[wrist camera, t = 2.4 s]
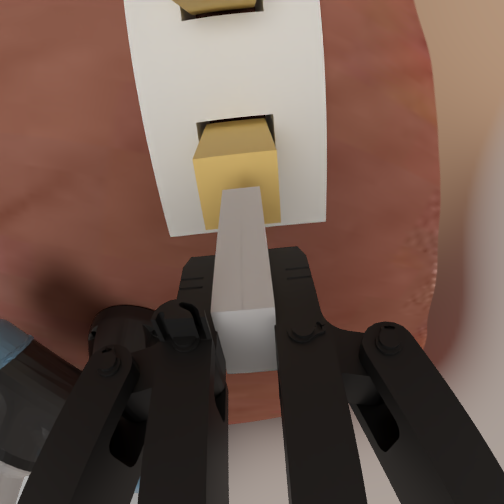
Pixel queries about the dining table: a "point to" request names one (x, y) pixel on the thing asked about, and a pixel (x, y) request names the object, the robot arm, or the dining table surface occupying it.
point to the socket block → (232, 96)
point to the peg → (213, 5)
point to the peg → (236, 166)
